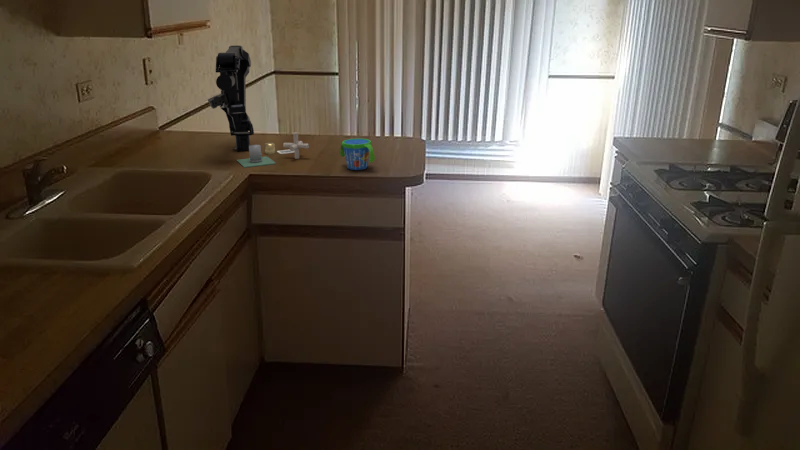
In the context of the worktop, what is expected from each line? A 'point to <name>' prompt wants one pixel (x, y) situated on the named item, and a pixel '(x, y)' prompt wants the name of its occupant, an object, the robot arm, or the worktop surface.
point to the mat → (247, 163)
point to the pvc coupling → (255, 153)
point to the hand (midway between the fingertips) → (234, 127)
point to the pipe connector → (296, 145)
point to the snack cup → (357, 153)
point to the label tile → (285, 151)
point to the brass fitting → (269, 148)
